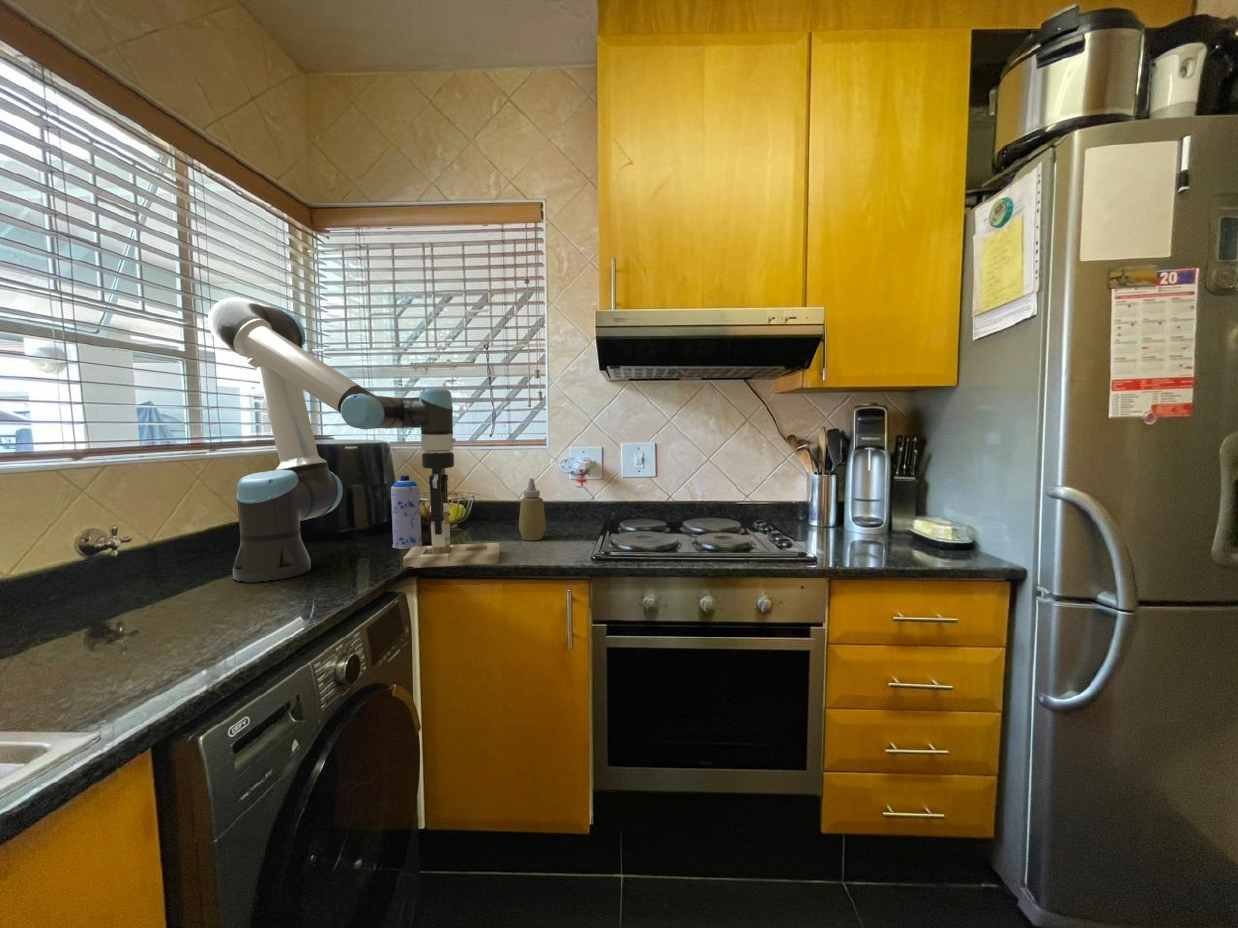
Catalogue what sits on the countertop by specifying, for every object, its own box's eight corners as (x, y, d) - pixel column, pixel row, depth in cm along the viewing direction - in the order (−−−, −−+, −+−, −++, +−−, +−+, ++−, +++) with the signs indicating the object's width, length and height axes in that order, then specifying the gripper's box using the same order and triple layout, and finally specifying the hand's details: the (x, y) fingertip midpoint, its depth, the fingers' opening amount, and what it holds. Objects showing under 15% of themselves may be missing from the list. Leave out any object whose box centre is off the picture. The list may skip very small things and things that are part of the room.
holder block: (403, 568, 127) (403, 556, 127) (413, 556, 139) (412, 545, 138) (498, 563, 131) (497, 552, 131) (499, 551, 143) (499, 541, 142)
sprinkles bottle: (445, 553, 137) (443, 502, 136) (454, 556, 134) (452, 503, 133) (428, 557, 134) (426, 504, 133) (437, 560, 131) (435, 505, 130)
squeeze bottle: (549, 536, 162) (548, 477, 160) (542, 542, 154) (541, 480, 152) (523, 535, 162) (521, 477, 161) (515, 541, 154) (513, 480, 153)
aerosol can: (419, 541, 156) (416, 473, 154) (425, 546, 149) (422, 475, 148) (390, 544, 152) (387, 475, 150) (395, 550, 145) (392, 477, 144)
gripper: (449, 453, 124) (452, 552, 126) (457, 449, 141) (460, 536, 143) (415, 454, 123) (418, 553, 125) (428, 450, 140) (431, 537, 142)
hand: (440, 544), depth 134 cm, fingers closed on sprinkles bottle, 4 cm apart
